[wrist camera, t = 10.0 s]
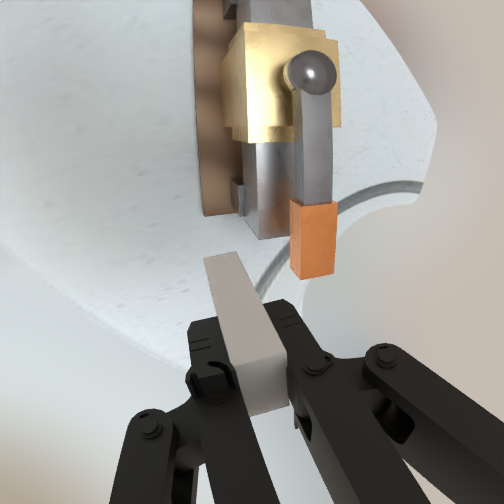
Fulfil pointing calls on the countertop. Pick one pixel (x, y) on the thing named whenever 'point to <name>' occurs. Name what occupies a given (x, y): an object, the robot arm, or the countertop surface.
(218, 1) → the base board
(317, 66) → the valve lever
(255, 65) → the valve
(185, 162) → the countertop surface
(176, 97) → the countertop surface
